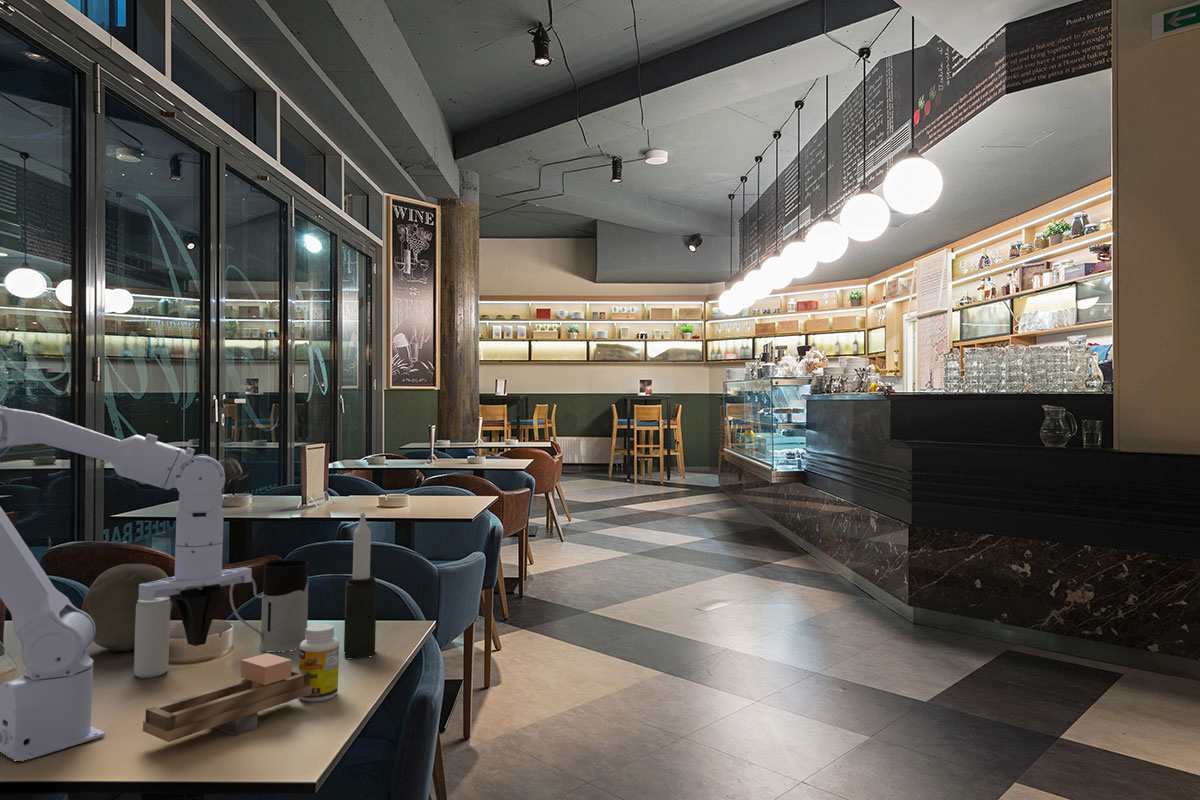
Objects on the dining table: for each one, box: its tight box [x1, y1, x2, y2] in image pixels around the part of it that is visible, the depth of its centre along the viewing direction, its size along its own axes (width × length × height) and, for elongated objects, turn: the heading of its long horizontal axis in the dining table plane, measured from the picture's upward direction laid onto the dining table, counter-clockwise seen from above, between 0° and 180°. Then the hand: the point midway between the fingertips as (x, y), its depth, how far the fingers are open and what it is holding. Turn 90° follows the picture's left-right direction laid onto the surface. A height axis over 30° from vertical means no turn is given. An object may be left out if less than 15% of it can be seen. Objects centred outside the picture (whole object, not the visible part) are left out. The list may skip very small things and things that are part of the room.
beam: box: [142, 667, 312, 743], centre depth 99 cm, size 20×6×5 cm, turn 148°
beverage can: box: [133, 596, 171, 679], centre depth 120 cm, size 5×5×12 cm
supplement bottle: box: [298, 623, 340, 703], centre depth 111 cm, size 6×6×10 cm
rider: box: [240, 652, 293, 688], centre depth 104 cm, size 4×6×4 cm
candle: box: [343, 512, 378, 659], centre depth 132 cm, size 5×5×25 cm
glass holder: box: [229, 559, 309, 653], centre depth 135 cm, size 9×14×15 cm, turn 137°
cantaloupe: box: [81, 563, 174, 652], centre depth 134 cm, size 14×14×15 cm
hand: (196, 643), depth 101 cm, fingers closed
